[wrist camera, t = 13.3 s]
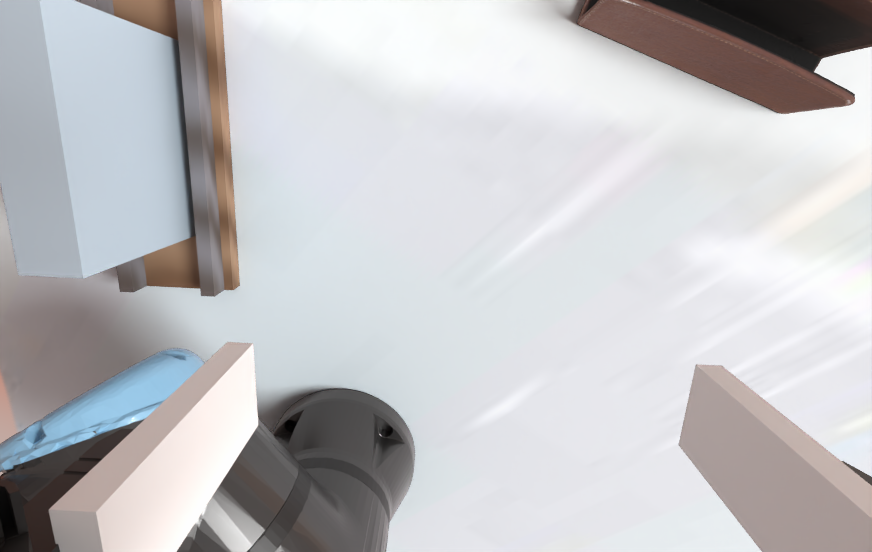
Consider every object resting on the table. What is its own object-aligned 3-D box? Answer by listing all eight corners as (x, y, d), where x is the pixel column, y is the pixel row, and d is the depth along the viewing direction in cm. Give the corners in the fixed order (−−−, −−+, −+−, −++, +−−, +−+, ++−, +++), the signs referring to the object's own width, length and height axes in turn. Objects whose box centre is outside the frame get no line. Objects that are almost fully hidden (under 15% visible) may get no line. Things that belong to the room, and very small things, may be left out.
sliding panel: (196, 235, 43) (83, 278, 29) (151, 233, 43) (18, 275, 29) (179, 40, 38) (36, -14, 25) (129, 38, 38) (-40, -18, 25)
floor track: (239, 285, 46) (223, 297, 42) (135, 280, 46) (111, 291, 42) (219, -21, 38) (198, -37, 35) (96, -28, 38) (63, -44, 35)
